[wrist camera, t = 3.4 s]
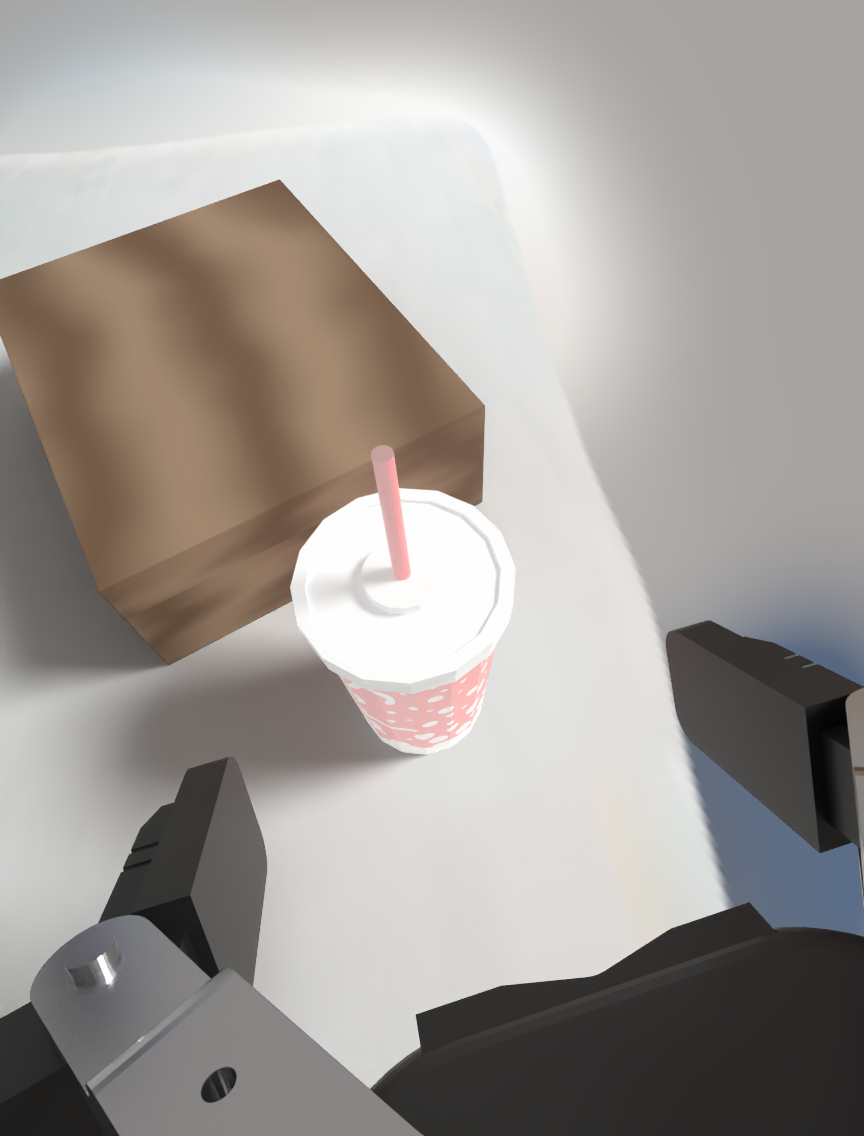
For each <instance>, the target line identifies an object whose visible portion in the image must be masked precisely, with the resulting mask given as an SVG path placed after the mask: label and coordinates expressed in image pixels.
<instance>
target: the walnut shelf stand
mask: <svg viewBox="0 0 864 1136" xmlns="http://www.w3.org/2000/svg"><path fill="white" fill-rule="evenodd" d="M0 336H1V338H2V341H3V343H4V346H5V349H6V351H7V354H8V356H9V359H10V362H11V364H12V367H13V370H14V372H15V375H16V377H17V380H18V383H19V385H20V388H21V390H22V393H23V396H24V398H25V401H26V403H27V406H28V409H29V411H30V414H31V417H32V419H33V422H34V424H35V427H36V430H37V432H38V435H39V437H40V440H41V443H42V445H43V448H44V450H45V453H46V456H47V458H48V461H49V464H50V466H51V469H52V471H53V474H54V477H55V479H56V482H57V484H58V487H59V490H60V492H61V495H62V497H63V500H64V503H65V505H66V508H67V511H68V513H69V516H70V518H71V521H72V524H73V526H74V529H75V531H76V534H77V537H78V539H79V542H80V544H81V547H82V550H83V552H84V555H85V557H86V560H87V563H88V565H89V568H90V571H91V573H92V576H93V578H94V581H95V584H96V586H97V589H98V591H99V593H100V594H101V595H102V596H103V597H104V598H105V599H106V600H107V601H108V602H109V603H110V604H111V605H112V606H113V607H114V608H115V609H116V610H117V611H118V612H119V613H120V615H121V616H122V617H123V618H124V619H125V620H126V621H127V622H128V623H129V624H130V625H131V626H132V627H133V628H134V629H135V630H136V631H137V632H138V633H139V634H140V635H141V636H142V637H143V638H144V639H145V640H146V641H147V643H148V644H149V645H150V646H151V647H152V648H153V649H154V650H155V651H156V652H157V653H158V654H159V655H160V656H161V657H162V658H163V659H164V660H165V661H166V662H167V663H168V664H169V665H170V664H172V663H174V662H176V661H177V660H179V659H181V658H183V657H185V656H187V655H189V654H191V653H193V652H195V651H197V650H199V649H200V648H202V647H204V646H206V645H208V644H210V643H212V642H214V641H216V640H218V639H220V638H222V637H223V636H225V635H227V634H229V633H231V632H233V631H235V630H237V629H239V628H241V627H243V626H245V625H247V624H248V623H250V622H252V621H254V620H256V619H258V618H260V617H262V616H264V615H266V614H268V613H270V612H271V611H273V610H275V609H277V608H279V607H281V606H283V605H285V604H287V603H289V602H291V601H293V600H292V595H291V590H290V586H291V582H292V578H293V574H294V570H295V567H296V563H297V559H298V555H299V551H300V549H301V548H302V547H303V546H304V544H305V543H306V542H307V540H308V539H309V538H310V536H311V535H312V534H313V533H314V531H315V530H316V529H317V527H318V526H319V525H320V523H321V522H322V521H323V520H324V519H325V518H327V517H328V516H330V515H331V514H333V513H335V512H336V511H338V510H339V509H341V508H342V507H344V506H346V505H347V504H349V503H350V502H352V501H354V500H355V499H357V498H359V497H363V496H367V495H371V494H375V493H378V490H377V484H376V479H375V474H374V468H373V463H372V458H371V452H372V450H373V449H374V448H375V447H377V446H380V445H387V446H389V447H391V448H392V449H393V452H394V458H395V465H396V472H397V479H398V486H399V488H404V489H419V490H434V491H439V492H442V493H444V494H447V495H449V496H451V497H454V498H456V499H459V500H461V501H463V502H466V503H468V504H471V505H473V506H475V505H477V504H479V503H480V502H482V491H483V456H484V421H485V405H484V404H483V403H482V402H481V401H480V400H479V399H478V398H477V396H476V395H475V394H474V393H473V392H472V391H471V390H470V389H469V388H468V386H467V385H466V384H465V383H464V382H463V381H462V380H461V379H460V378H459V377H458V375H457V374H456V373H455V372H454V371H453V370H452V369H451V368H450V367H449V366H448V364H447V363H446V362H445V361H444V360H443V359H442V358H441V357H440V356H439V355H438V353H437V352H436V351H435V350H434V349H433V348H432V347H431V346H430V345H429V344H428V342H427V341H426V340H425V339H424V338H423V337H422V336H421V335H420V334H419V333H418V331H417V330H416V329H415V328H414V327H413V326H412V325H411V324H410V323H409V321H408V320H407V319H406V318H405V317H404V316H403V315H402V314H401V313H400V312H399V310H398V309H397V308H396V307H395V306H394V305H393V304H392V303H391V302H390V301H389V299H388V298H387V297H386V296H385V295H384V294H383V293H382V292H381V291H380V290H379V288H378V287H377V286H376V285H375V284H374V283H373V282H372V281H371V280H370V279H369V277H368V276H367V275H366V274H365V273H364V272H363V271H362V270H361V269H360V268H359V266H358V265H357V264H356V263H355V262H354V261H353V260H352V259H351V258H350V256H349V255H348V254H347V253H346V252H345V251H344V250H343V249H342V248H341V247H340V245H339V244H338V243H337V242H336V241H335V240H334V239H333V238H332V237H331V236H330V234H329V233H328V232H327V231H326V230H325V229H324V228H323V227H322V226H321V225H320V223H319V222H318V221H317V220H316V219H315V218H314V217H313V216H312V215H311V214H310V212H309V211H308V210H307V209H306V208H305V207H304V206H303V205H302V204H301V203H300V201H299V200H298V199H297V198H296V197H295V196H294V195H293V194H292V193H291V191H290V190H289V189H288V188H287V187H286V186H285V185H284V184H283V183H282V182H281V180H277V181H274V182H271V183H268V184H266V185H263V186H260V187H257V188H255V189H252V190H249V191H246V192H243V193H241V194H238V195H235V196H232V197H229V198H227V199H224V200H221V201H218V202H215V203H213V204H210V205H207V206H204V207H201V208H199V209H196V210H193V211H190V212H187V213H185V214H182V215H179V216H176V217H173V218H171V219H168V220H165V221H162V222H159V223H157V224H154V225H151V226H148V227H145V228H143V229H140V230H137V231H134V232H131V233H129V234H126V235H123V236H120V237H117V238H115V239H112V240H109V241H106V242H103V243H101V244H98V245H95V246H92V247H89V248H87V249H84V250H81V251H78V252H76V253H73V254H70V255H67V256H64V257H62V258H59V259H56V260H53V261H50V262H48V263H45V264H42V265H39V266H36V267H34V268H31V269H28V270H25V271H22V272H20V273H17V274H14V275H11V276H8V277H6V278H3V279H0Z"/></svg>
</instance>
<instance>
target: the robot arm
mask: <svg viewBox="0 0 864 1136" xmlns="http://www.w3.org/2000/svg"><path fill="white" fill-rule="evenodd" d="M666 650H667V656H668V663H669V669H670V676H671V682H672V688H673V695H674V701H675V708H676V713H677V716H678V719H679V722H680V724H681V727H682V729H683V731H684V732H685V734H686V735H687V737H688V738H689V740H690V741H691V742H692V743H693V744H694V745H695V746H697V747H698V748H699V749H700V750H701V751H702V752H704V753H705V754H706V755H707V756H708V757H709V758H710V759H712V760H713V761H714V762H715V763H716V764H717V765H719V766H720V767H721V768H722V769H723V770H724V771H725V772H727V773H728V774H729V775H730V776H731V777H732V778H734V779H735V780H736V781H737V782H738V783H739V784H741V785H742V786H743V787H744V788H745V789H746V790H748V791H749V792H750V793H751V794H752V795H753V796H754V797H756V798H757V799H758V800H759V801H760V802H761V803H762V804H764V805H765V806H766V807H767V808H768V809H769V810H771V811H772V812H773V813H774V814H775V815H776V816H778V817H779V818H780V819H781V820H782V821H783V822H785V823H786V824H787V825H788V826H789V827H790V828H791V829H792V830H794V831H795V832H796V833H797V834H798V835H800V836H801V837H802V838H803V839H804V840H805V841H807V843H809V844H810V845H811V846H812V847H813V848H815V849H816V850H817V851H818V852H819V853H821V852H824V851H828V850H831V849H834V848H837V847H840V846H843V845H846V844H849V843H852V842H853V843H854V844H855V845H856V846H858V855H859V866H860V876H861V885H862V894H863V904H864V687H863V686H861V685H859V684H857V683H855V682H853V681H851V680H849V679H847V678H845V677H843V676H840V675H839V674H837V673H835V672H833V671H831V670H829V669H826V668H824V667H822V666H820V665H818V664H817V665H814V663H813V662H812V661H810V660H808V659H806V658H804V657H802V656H800V655H799V656H796V654H795V653H794V652H792V651H790V650H788V649H785V648H783V647H781V646H779V645H777V644H775V643H772V642H767V641H763V640H758V639H753V638H748V637H742V636H740V635H738V634H736V633H734V632H732V631H730V630H728V629H726V628H724V627H722V626H720V625H718V624H716V623H714V622H712V621H704V622H700V623H697V624H693V625H690V626H686V627H683V628H679V629H676V630H673V631H670V632H668V634H667V637H666ZM131 851H132V853H131V854H129V856H128V858H127V860H126V862H125V865H124V867H123V870H124V872H121V874H120V876H119V878H118V880H117V882H116V885H115V887H114V889H113V891H112V894H111V896H110V898H109V900H108V903H107V905H106V907H105V909H104V912H103V914H102V916H101V918H100V920H99V923H98V924H96V925H94V926H92V927H90V928H88V929H87V930H85V931H83V932H82V933H80V934H78V935H77V936H75V937H74V938H72V939H71V940H70V941H68V942H67V943H66V944H64V945H63V946H62V947H61V948H60V949H59V950H57V951H56V952H55V953H54V954H53V955H52V956H51V957H50V958H49V959H48V961H47V962H46V963H45V964H44V965H43V967H42V968H41V969H40V971H39V972H38V974H37V975H36V977H35V979H34V982H33V984H32V987H31V991H30V999H31V1002H29V1003H28V1004H26V1005H24V1006H22V1007H21V1008H19V1009H17V1010H15V1011H14V1012H12V1013H10V1014H8V1015H6V1016H4V1017H2V1018H0V1136H864V937H862V936H859V935H855V934H851V933H846V932H840V931H834V930H828V929H819V928H807V927H779V928H778V927H777V928H772V927H771V926H770V925H769V924H768V923H767V922H766V921H765V919H764V918H763V917H762V916H761V915H760V914H759V913H758V911H756V909H755V908H754V907H753V906H752V905H751V904H750V903H746V904H743V905H740V906H737V907H734V908H731V909H728V910H725V911H722V912H719V913H716V914H713V915H710V916H707V917H704V918H701V919H698V920H695V921H692V922H689V923H686V924H683V925H680V926H677V927H675V928H672V929H670V930H668V931H666V932H665V933H663V934H662V935H660V936H659V937H657V938H656V939H654V940H652V941H651V942H649V943H648V944H646V945H645V946H643V947H642V948H640V949H638V950H637V951H635V952H634V953H632V954H631V955H629V956H628V957H626V958H624V959H623V960H621V961H620V962H618V963H617V964H615V965H613V966H612V967H610V968H609V969H607V970H606V971H604V972H602V973H600V974H598V975H595V976H591V977H585V978H575V979H565V980H555V981H545V982H535V983H525V984H515V985H505V986H499V987H496V988H493V989H491V990H488V991H485V992H482V993H479V994H476V995H473V996H470V997H467V998H464V999H461V1000H458V1001H455V1002H452V1003H449V1004H446V1005H443V1006H440V1007H437V1008H434V1009H431V1010H428V1011H425V1012H422V1013H419V1014H416V1019H417V1026H418V1032H419V1038H420V1045H421V1047H420V1048H418V1049H417V1050H415V1051H414V1052H412V1053H411V1054H409V1055H408V1056H406V1057H405V1058H404V1059H403V1060H401V1061H400V1062H399V1063H398V1064H396V1065H395V1066H394V1067H393V1068H391V1069H390V1070H389V1071H388V1072H387V1073H386V1074H385V1075H384V1076H383V1077H382V1078H381V1079H380V1080H379V1081H378V1082H377V1083H376V1084H375V1085H374V1086H373V1087H372V1088H371V1089H369V1088H368V1087H367V1086H365V1085H364V1084H363V1083H362V1082H361V1081H360V1080H359V1079H357V1078H356V1077H355V1076H354V1075H353V1074H352V1073H351V1072H349V1071H348V1070H347V1069H346V1068H345V1067H344V1066H343V1065H341V1064H340V1063H339V1062H338V1061H337V1060H336V1059H335V1058H333V1057H332V1056H331V1055H330V1054H329V1053H328V1052H327V1051H325V1050H324V1049H323V1048H322V1047H321V1046H320V1045H319V1044H317V1043H316V1042H315V1041H314V1040H313V1039H312V1038H311V1037H309V1036H308V1035H307V1034H306V1033H305V1032H304V1031H303V1030H301V1029H300V1028H299V1027H298V1026H297V1025H296V1024H295V1023H293V1022H292V1021H291V1020H290V1019H289V1018H288V1017H287V1016H286V1015H284V1014H283V1013H282V1012H281V1011H280V1010H279V1009H278V1008H276V1007H275V1006H274V1005H273V1004H272V1003H271V1002H270V1001H268V1000H267V999H266V998H265V997H264V996H263V995H262V994H260V993H259V992H258V991H257V990H256V989H255V988H254V987H253V981H254V973H255V964H256V956H257V948H258V940H259V932H260V924H261V916H262V908H263V900H264V892H265V883H266V875H267V858H266V851H265V845H264V841H263V837H262V833H261V830H260V827H259V824H258V821H257V819H256V816H255V813H254V810H253V807H252V804H251V801H250V798H249V795H248V792H247V789H246V786H245V783H244V780H243V777H242V774H241V772H240V769H239V766H238V764H237V762H236V761H235V759H234V758H233V757H228V758H225V759H221V760H218V761H214V762H211V763H207V764H204V765H200V766H197V767H194V768H190V769H188V770H187V772H186V774H185V776H184V779H183V781H182V784H181V787H180V789H179V792H178V794H177V797H176V799H175V802H174V803H171V804H168V805H165V806H161V807H160V808H159V810H158V811H157V812H156V813H155V814H154V815H153V816H152V817H151V818H150V819H149V820H148V821H147V822H146V823H145V824H144V825H143V826H142V828H141V829H140V831H139V833H138V836H137V838H136V840H135V842H134V845H133V847H132V849H131Z"/></svg>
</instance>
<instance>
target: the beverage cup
mask: <svg viewBox="0 0 864 1136" xmlns="http://www.w3.org/2000/svg"><path fill="white" fill-rule="evenodd" d="M371 458H372V463H373V468H374V474H375V479H376V484H377V490H378V493H375V494H371V495H367V496H363V497H359V498H357V499H355V500H354V501H352V502H350V503H349V504H347V505H346V506H344V507H342V508H341V509H339V510H338V511H336V512H335V513H333V514H331V515H330V516H328V517H327V518H325V519H324V520H323V521H322V522H321V523H320V525H319V526H318V527H317V529H316V530H315V531H314V533H313V534H312V535H311V536H310V538H309V539H308V540H307V542H306V543H305V544H304V546H303V547H302V548H301V549H300V551H299V555H298V559H297V563H296V567H295V570H294V574H293V578H292V582H291V586H290V590H291V595H292V600H293V605H294V610H295V615H296V621H297V626H298V628H299V630H300V631H301V632H302V634H303V635H304V636H305V639H306V640H307V642H308V643H309V644H310V645H311V647H312V648H313V649H314V651H315V652H316V653H317V655H318V656H319V657H320V659H321V660H322V661H323V662H324V664H325V665H326V666H327V668H328V669H329V670H331V671H333V672H334V673H336V674H338V675H339V677H340V678H341V680H342V682H343V683H344V685H345V686H346V688H347V690H348V691H349V693H350V694H351V696H352V698H353V699H354V701H355V702H356V704H357V706H358V707H359V709H360V711H361V712H362V714H363V715H364V717H365V719H366V720H367V722H368V723H369V725H370V726H371V727H372V728H373V730H374V731H375V732H376V734H377V735H378V736H379V738H380V739H381V740H382V741H383V742H385V743H387V744H389V745H390V746H392V747H394V748H396V749H398V750H399V751H401V752H405V753H414V754H424V755H428V754H431V753H435V752H438V751H441V750H445V749H448V748H451V747H452V746H453V745H454V744H456V743H457V742H458V741H459V740H461V739H462V738H463V737H464V736H466V735H467V734H468V733H469V732H470V730H471V728H472V726H473V724H474V722H475V721H476V719H477V717H478V715H479V713H480V710H481V705H482V701H483V697H484V692H485V688H486V684H487V679H488V675H489V670H490V666H491V662H492V657H493V653H494V649H495V646H496V644H497V642H498V641H499V639H500V637H501V635H502V633H503V632H504V630H505V628H506V626H507V624H508V623H509V621H510V617H511V613H512V610H513V599H514V583H515V564H514V562H513V560H512V557H511V555H510V552H509V550H508V547H507V545H506V543H505V540H504V538H503V535H502V533H501V531H500V530H498V529H497V528H496V527H495V526H494V525H493V524H492V523H491V522H490V521H489V520H488V519H487V518H486V517H485V516H484V515H483V514H482V513H481V512H480V511H479V510H478V509H477V508H475V507H474V506H473V505H471V504H468V503H466V502H463V501H461V500H459V499H456V498H454V497H451V496H449V495H447V494H444V493H442V492H439V491H434V490H419V489H404V488H399V486H398V479H397V472H396V465H395V458H394V452H393V449H392V448H391V447H389V446H387V445H380V446H377V447H375V448H374V449H373V450H372V452H371Z"/></svg>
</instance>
